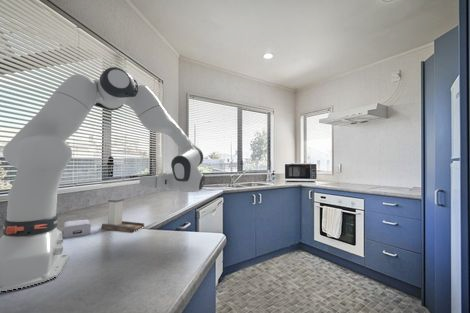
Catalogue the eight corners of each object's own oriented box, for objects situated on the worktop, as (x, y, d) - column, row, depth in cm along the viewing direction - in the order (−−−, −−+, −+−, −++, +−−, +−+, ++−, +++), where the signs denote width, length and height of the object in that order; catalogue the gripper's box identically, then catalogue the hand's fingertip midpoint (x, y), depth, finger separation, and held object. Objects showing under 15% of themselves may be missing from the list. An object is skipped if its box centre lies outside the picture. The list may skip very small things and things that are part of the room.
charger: (87, 226, 107) (90, 234, 95) (63, 228, 102) (63, 238, 90) (87, 216, 107) (90, 223, 96) (63, 218, 102) (63, 226, 90)
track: (144, 227, 108) (144, 223, 108) (133, 232, 100) (133, 227, 100) (113, 224, 111) (114, 220, 111) (101, 228, 104) (101, 224, 104)
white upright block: (122, 223, 109) (123, 198, 109) (114, 226, 104) (115, 200, 104) (115, 222, 110) (116, 198, 110) (107, 225, 105) (108, 199, 105)
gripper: (180, 173, 112) (155, 172, 115) (158, 174, 92) (129, 173, 95) (179, 185, 112) (154, 184, 115) (157, 190, 92) (128, 187, 95)
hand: (143, 179), depth 105 cm, fingers closed
